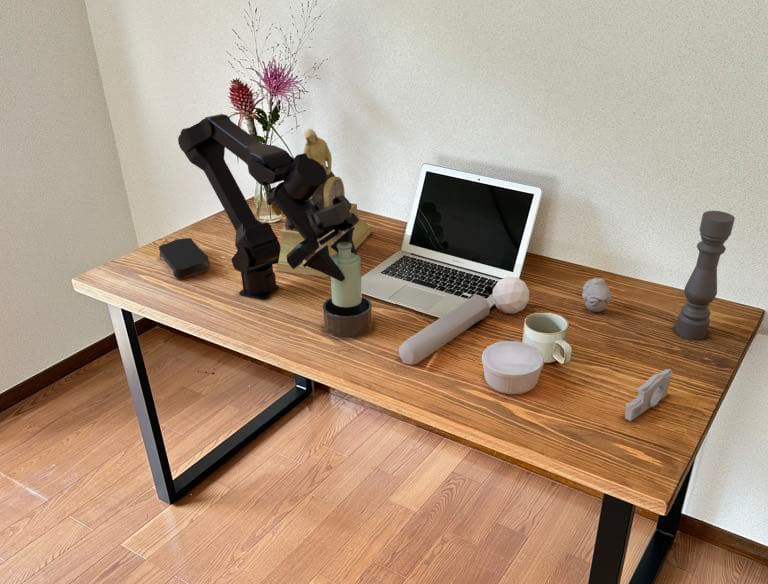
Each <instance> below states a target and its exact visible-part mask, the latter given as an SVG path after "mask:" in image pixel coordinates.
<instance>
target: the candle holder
mask: <svg viewBox="0 0 768 584" xmlns="http://www.w3.org/2000/svg"><path fill="white" fill-rule="evenodd" d="M735 220H736V219H735V216H734V215H732V214H731V213H729V212H725V211H720V210H706V211H704V212H703V213H702V215H701V221H700V225H699V228H698V230H699V235H700V239H701V240H700V241H699V242H698V243H697V244H696V248H697V250H698V256H697V260H696V263H695V267H694V268H693V270H692V272H691V274H690V276H689V278H688V280H687V282H686V283H685V286H684V291H683V293H684V295H685V299H686V303H685V304H684V305H682V306H681V308H680V312H679V313H678V315H677V319H676V323H675V327H674V330H675V333H676V334H677V335H678V336H680V337H682V338H685V339H689V340H702V339H705V338H706V336H707V335H708V330H709V327H710V323H711V319H710V316H711V310H710V309H709V306H710V304H711V303H712V302H713V301H714V300H715V298H716V297H717V295H718V266H719V261H720V259H721V258H720V257H721V256H722V255H723V254H725V251H726V250H727V249H726V246H725V245H724V244H725V243H726V242H727V241H728V239H729V237H730V236H731V235H732V231H733V229H734V228H733V227H734V223H735Z"/></svg>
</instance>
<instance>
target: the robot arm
mask: <svg viewBox="0 0 768 584" xmlns="http://www.w3.org/2000/svg"><path fill="white" fill-rule="evenodd" d="M177 142H178V146H179V148H180V150H181V151H182V152H183V153H184V155H185V156H186V158H187V160H188V161H189V162H190V163H191V164H193V165H194V166H195V167H197V168H198V169H200V170H201V171H203V173H204V174H205V176H206V178H207V181H208V182H209V183H210V185H211V187H212V189H213V191H214V193H215V194H216V196H217V199H218V200H219V202H220V204H221V206H222V208H223V209H224V211H225V213H226V215H227V217H228V219H229V220H230V223H231V224H232V226H233V228H234V230H235V240H234V241H235V242H234V245H235V248H236V252H235V254H234V255H233V257H231V263H232V266H233V269H234V270H236V271H238V272H240V277H241V281H242V282H241V285H242V289H241V290H240V291H239V295H240V296H245V297H249V298H254V299H259V300H266V299H267V298H268V297H270V296H271V295H272V294H273V293H274V292H276V291H277V290H278V289H280V286H279V285H278V284H277V279H276V273H275V271H274V265H277V263H278V262H279V256H280V250H281V242H280V241H279V240H278V238H279V237H278V236H277V235H276V233H275V232H274V230H273V227H272V225H271V224H270V223H269V222H267V221H266V222H263V223H262V222H261V221H260V220H258V219H257V217H256V216H255V214H254V212H253V210H252V208H251V207H250V204H249V203H248V201H247V199H246V197H245V195H244V194H243V192H242V190H241V188H240V186H239V184H238V183H237V181H236V179H235V177H234V175H233V173H232V171H231V170H230V167H229V166H228V164H227V161H226V160H225V150H228V151H229V152H231V153H232V154H233V155H235V156H236V157H237V158H238V159H239V160H241V161H242V162H243V163H245V165H247V170H248V174H249V175H250V176H251V177H252V178H253V179H254V180H255V181H256V182H257V183H258V184H259V185H261V186H263V187H265V186H269V185H273V184H276V183H278V184H277V185H276V186H273V187H272V188H270V189H268V190H266V194H267V198H266V204H267V205H268V206H271V205H273V204H275V206H277V208H278V209H279V210H280V211H281V213H282V214H283V216H285V218H286V217H287V218H288V220H289V221H290V222H291V224H290V225H289V226H288V227H289V228H290V229H291V231H292V230H294V229H295V228H296V229H297V231H298V232H299V233H300V234H301V236H302V237H303V238H304V239H305V240H304V241H302V242H301V243H299V244H298V245H297V246H296V247H295V248H294V249H293V250H292V251H291V252H290V253H289V254H288V255H287V263H288V264H289V265H290V266H291V267H292V269H295V268H296V267H298V266H299V265H301V264H302V263H303V260H304V259H305V261H306V263H305V264H304V265H303V266H304V267H306V266H307V267H310V268H312V269H315V270H318V271H320V272H322V273H325V274H327V275H329V277H330V276H331V277H333V278H335V279H337V280H339V281H341V282H342V281H343V280H344V279H345V277H344V275H343V274H342V272H341V271H340V269H339V268H338V266H337V265H336V264H335V262H334V261H333V260H332V258H331V257H330V255H329V250H328V245H326V246H325V247H322V245H323V244H325V243H326V242H328V241H329V240H332V242H333V243H334V244H333V245H332V246H330V247H331V248H332V249H333V250H335V251H336V252H337V253H339V252H338V248H337V244H338V243H341V242H349V243H351V244H352V248H351V253H354V254H355V255H358V252H357V249H356V250H355V247H354V244H353V240H352V236H353V231H354V230H355V228H354V227H353V226H354V225H355V224H356V223H357V222H358V221H359V219H358V218H357V217H356V215H355V214H354V213H351V212H350V211H349V210H350V209H351V206H352V205H351V203H352V202H350V201H349V199H348V198H347V197H345V196H346V195H345V196H344V195H340V196H337V197H336V198H334V199H333V204H331V205H330V206H328V207H325V208H324V207H323V206H322V204H321V203H319V202H318V203H316V204H313V202H312V201H311V200H310V198H311V197H312V196H313V195H314V194H315V193H316V191H317V190H318V189H319V188H320V187H321V186H322V185H323V183H324V182H325V181H326V176H327V175H326V171H325V168H324V167H323V166H322V165H321V164H320V163H319V162H317V161H316V160H314V159H310V158H308V156H307V155H306V153H304V152H302V153H300V154H297V155H296V156H295V157H293V156H292V155H290V153H289V152H288V151H287V150H286V149H283V148H281V147H279V146H277V145H273V144H266V143H263V142H261V141H259V140H258V139H256V138H255V137H254V136H253V135H251V134H250V133H248V132H247V131H246V130H245V129H243V128H241V127H240V126H239V125H237V124H236V123H235V122H233V121H232V120H231V118H230V117H229V116H228V115H227V114H223V113H220V114H214V115H210V116H205V117H204V118H203V119H202V120H200V121H199V122H197V123H195V124H193V125H191V126H190V127H185V128H182V129H181V130H180V134H179V135H178V138H177ZM352 227H353V228H352ZM317 239H319V240H317Z"/></svg>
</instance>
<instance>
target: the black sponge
mask: <svg viewBox="0 0 768 584" xmlns="http://www.w3.org/2000/svg"><path fill="white" fill-rule="evenodd" d="M158 250H159V258H160V260H162V261H164V263H165V264H166V266H167V267H169V270H170V271H171V272H172V275H173V277H174V278H175V279H178V280H182V279H185V278H188V277H191V276H195V275H197V274H201V273H205V272H207V271H209V270H210V269H211V262H210V259H209V256H208V255H207V254H206V253H205V252H204V251H203V250H202V249H201V248H200V247H199V246H198V245H197V243H196V242H194V240H193V238H191V237H186V238H177V239H174V240H172V241H170V242H166V243H164V244H161V245H159V247H158Z"/></svg>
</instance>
